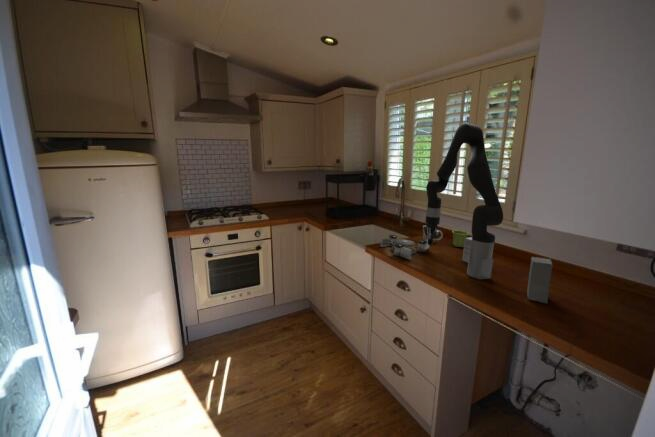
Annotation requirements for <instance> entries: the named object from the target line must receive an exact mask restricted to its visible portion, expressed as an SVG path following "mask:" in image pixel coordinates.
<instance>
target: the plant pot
mask: <svg viewBox="0 0 655 437" xmlns="http://www.w3.org/2000/svg"><path fill="white" fill-rule="evenodd" d="M451 232H452V239H453V240H452V241H453V242H452V244H453V245H452V246H454V247H457V248H464V243H465V238H468V236H469V235H470V234H469V233H470V232H467V231H463V230H452V231H451Z"/></svg>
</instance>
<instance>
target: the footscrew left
mask: <svg viewBox="0 0 655 437" xmlns="http://www.w3.org/2000/svg"><path fill="white" fill-rule="evenodd" d="M393 253H394V256H396V257H402V258H405V259H407V260H411V259H412V255H413V254H412V250H410V249H408V248H405V247H404V245H403V244H399V243H396V244H395V250H394V252H393Z"/></svg>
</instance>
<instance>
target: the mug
mask: <svg viewBox="0 0 655 437" xmlns="http://www.w3.org/2000/svg"><path fill="white" fill-rule="evenodd" d="M426 226H427V224H426V225H422V240H427V239H428V237H427V236H426V234H425V230H424V227H426ZM437 231H438V232H440V234H439V235H440V236H439V238H436V239H433V242H435V241H440V240H442V239H443V237H444V234H443V231H442V230H440V229H437Z"/></svg>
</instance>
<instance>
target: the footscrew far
mask: <svg viewBox="0 0 655 437" xmlns="http://www.w3.org/2000/svg"><path fill="white" fill-rule="evenodd" d="M395 240H398V236H397V235H396V234H389V235H388V236H387V237H381V238H380V247H382V248H383V247H389V246H390V247H392V246H394V245H395Z"/></svg>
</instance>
